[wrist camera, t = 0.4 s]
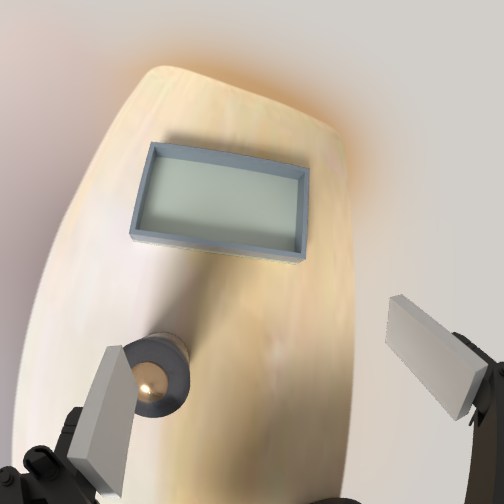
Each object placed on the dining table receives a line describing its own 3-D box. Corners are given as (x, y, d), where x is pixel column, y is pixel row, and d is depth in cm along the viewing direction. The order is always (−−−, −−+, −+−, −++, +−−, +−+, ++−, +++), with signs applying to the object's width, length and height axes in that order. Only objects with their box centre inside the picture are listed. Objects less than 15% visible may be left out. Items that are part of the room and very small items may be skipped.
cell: (186, 384, 28) (187, 427, 16) (136, 377, 27) (105, 414, 15) (191, 335, 29) (194, 347, 17) (141, 328, 28) (109, 334, 16)
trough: (295, 264, 33) (305, 258, 30) (133, 241, 30) (128, 233, 27) (299, 180, 35) (309, 168, 33) (153, 155, 32) (151, 141, 30)
